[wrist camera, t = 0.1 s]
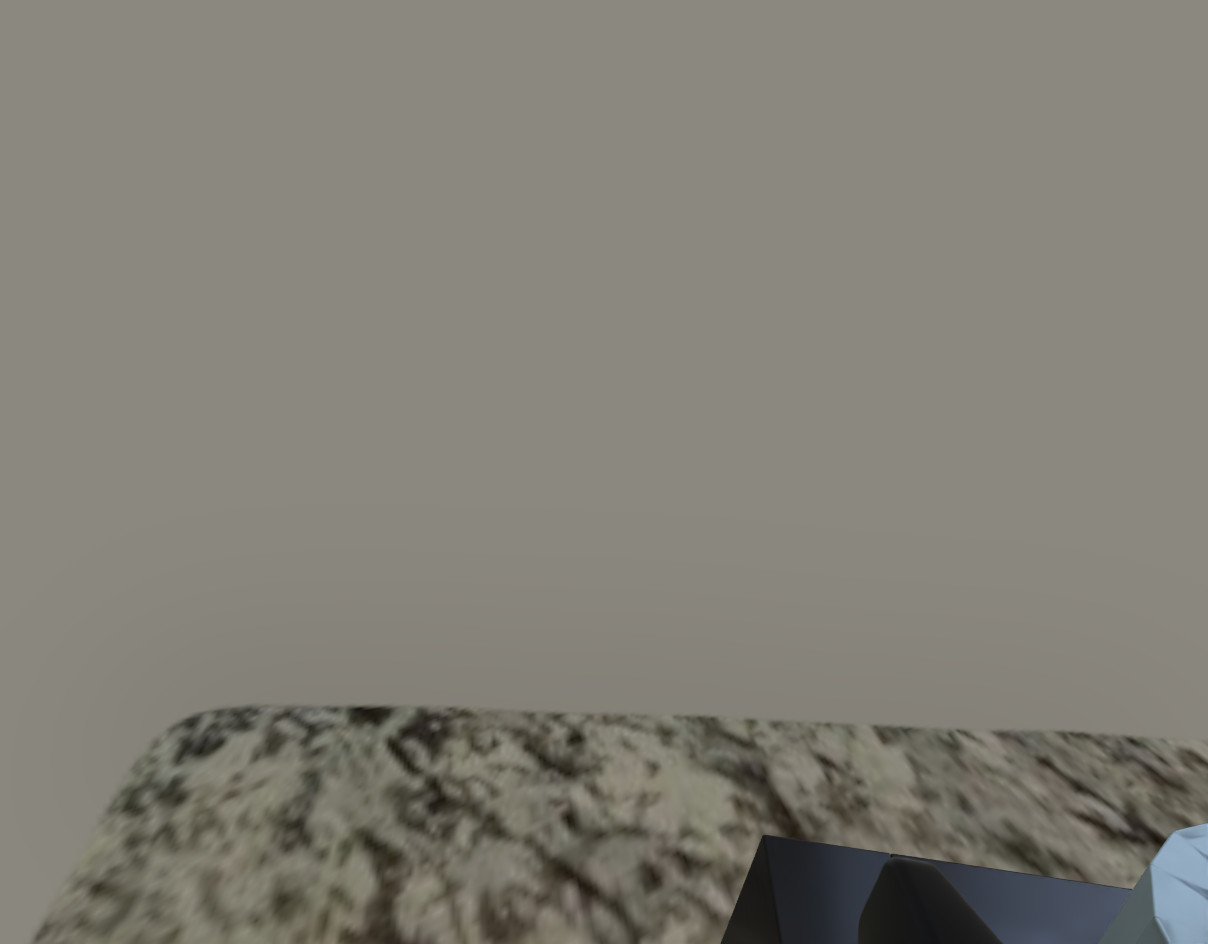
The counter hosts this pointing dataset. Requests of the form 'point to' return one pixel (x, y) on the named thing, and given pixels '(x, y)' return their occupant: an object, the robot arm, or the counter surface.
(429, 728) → the counter surface
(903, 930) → the robot arm
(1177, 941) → the vase
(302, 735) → the counter surface
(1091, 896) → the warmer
